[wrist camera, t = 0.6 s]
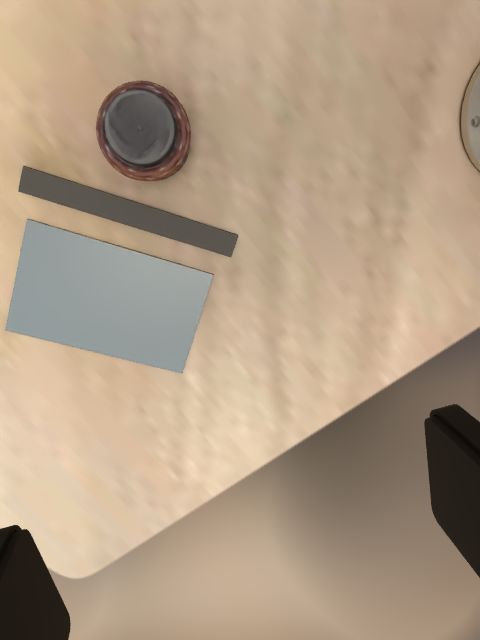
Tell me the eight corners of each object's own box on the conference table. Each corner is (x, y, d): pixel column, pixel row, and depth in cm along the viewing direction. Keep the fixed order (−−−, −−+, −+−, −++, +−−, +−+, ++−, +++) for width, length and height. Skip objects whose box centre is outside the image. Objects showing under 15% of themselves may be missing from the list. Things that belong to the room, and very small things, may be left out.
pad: (28, 219, 37) (26, 219, 36) (213, 274, 40) (213, 274, 40) (6, 329, 39) (5, 330, 39) (182, 372, 43) (182, 373, 42)
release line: (24, 166, 35) (23, 166, 35) (237, 235, 39) (238, 235, 39) (19, 191, 36) (18, 191, 36) (230, 256, 40) (231, 257, 39)
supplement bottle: (202, 128, 36) (212, 110, 26) (168, 194, 37) (163, 202, 27) (135, 85, 35) (115, 46, 24) (101, 155, 36) (68, 147, 25)
